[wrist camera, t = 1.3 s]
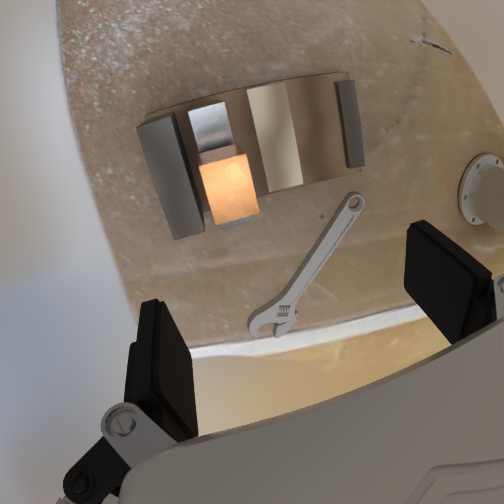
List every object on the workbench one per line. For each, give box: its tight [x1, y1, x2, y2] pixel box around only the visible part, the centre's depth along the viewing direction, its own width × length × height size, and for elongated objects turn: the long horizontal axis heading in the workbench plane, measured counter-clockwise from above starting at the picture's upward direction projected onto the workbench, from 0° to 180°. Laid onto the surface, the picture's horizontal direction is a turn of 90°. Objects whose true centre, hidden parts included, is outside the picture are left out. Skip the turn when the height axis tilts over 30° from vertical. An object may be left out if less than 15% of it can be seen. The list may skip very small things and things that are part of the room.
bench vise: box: [136, 72, 365, 240], centre depth 31 cm, size 22×12×8 cm, turn 103°
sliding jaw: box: [188, 99, 260, 229], centre depth 27 cm, size 3×11×12 cm, turn 13°
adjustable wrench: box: [248, 192, 365, 338], centre depth 44 cm, size 25×6×2 cm, turn 145°
